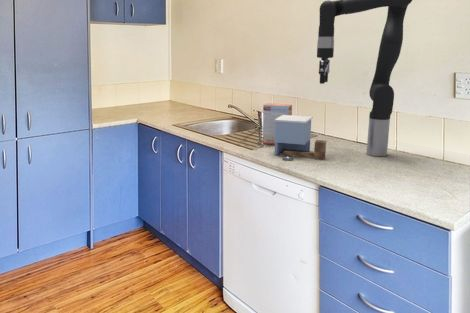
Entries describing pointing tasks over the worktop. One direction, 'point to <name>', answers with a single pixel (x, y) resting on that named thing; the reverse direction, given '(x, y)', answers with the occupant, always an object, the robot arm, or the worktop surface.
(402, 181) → the worktop surface
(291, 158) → the grey metal dome
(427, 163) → the worktop surface
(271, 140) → the cracker box
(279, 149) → the cabinet
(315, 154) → the wooden mallet
